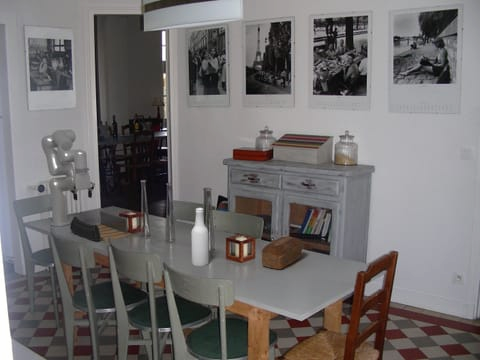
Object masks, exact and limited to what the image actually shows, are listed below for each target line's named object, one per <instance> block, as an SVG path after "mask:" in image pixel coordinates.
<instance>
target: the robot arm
mask: <svg viewBox="0 0 480 360" xmlns="http://www.w3.org/2000/svg"><path fill="white" fill-rule="evenodd" d="M76 138H77V135H76V132H75V131H74V130H72V129H58V130H55V131H53V133H52V134H50V135H46V136H45V135H44V136H43V137H42V138H41V141H40V142H41V149H42V150H43V152H44V154H45V157H46V163H47V169H48V174H49V175H50V176H52V177H53V178H51V179H50V180H49V182H48V187H49V192H50V198H51V212H52V213H51V214H52V217H51V219H52V221H51V222H50V226H51V227H52V226H53V227H63V226H68V225H71V221H70V220H68V204H67V203H68V202H67V197H66V195H65V194H64V192H69V191H70V192H71V193H72V196H73V200H74V201H78V192H79V191H83V190H88V191H87V196H88V198H90V199H92V198H93V197H92V196H93V190H94V189H95V186H96V183H95V182H92V181H91V177H90V174H89V172H88V171H90V168H89V167H88V158H87V156H88V155H87V152H86V150H82V149H72V147H73V143H74V142H75V141H76V140H77V139H76ZM55 148H56V149H55ZM59 176H60V177H59ZM61 176H62V177H61Z"/></svg>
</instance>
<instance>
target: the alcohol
mask: <svg viewBox="0 0 480 360" xmlns="http://www.w3.org/2000/svg"><path fill="white" fill-rule="evenodd" d="M194 223H195V224H194V226H193V228H192V229H191V233H190V235H191V264H192V265H193V266H195V267H204V266H207V265H209V258H210V257H209V231H208V228H207V226H206V225H205V219H204V208H203V207H197V208H195V221H194Z"/></svg>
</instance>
